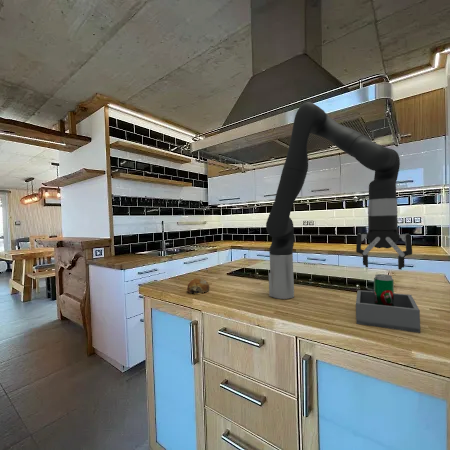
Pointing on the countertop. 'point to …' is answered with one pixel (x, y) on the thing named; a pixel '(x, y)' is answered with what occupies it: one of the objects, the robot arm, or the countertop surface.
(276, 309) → the countertop surface
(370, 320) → the bin
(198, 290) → the bread roll
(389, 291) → the soda can
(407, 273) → the countertop surface
